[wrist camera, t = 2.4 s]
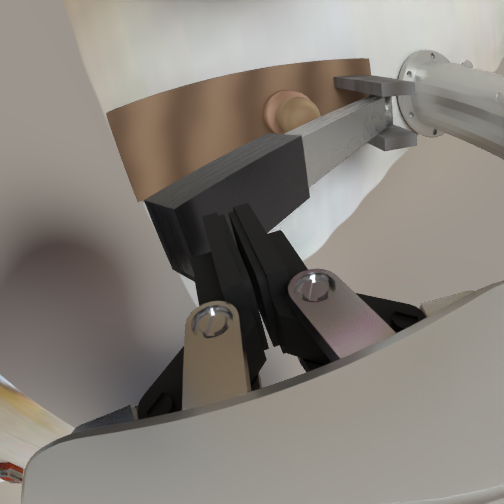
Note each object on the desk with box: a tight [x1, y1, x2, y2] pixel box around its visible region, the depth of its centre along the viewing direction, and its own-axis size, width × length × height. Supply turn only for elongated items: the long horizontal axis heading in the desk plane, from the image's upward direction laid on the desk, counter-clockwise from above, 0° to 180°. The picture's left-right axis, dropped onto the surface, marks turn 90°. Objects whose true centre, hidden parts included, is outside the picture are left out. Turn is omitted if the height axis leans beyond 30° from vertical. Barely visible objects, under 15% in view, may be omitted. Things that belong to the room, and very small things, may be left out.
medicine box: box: [0, 462, 23, 483], centre depth 67 cm, size 15×8×8 cm, turn 119°
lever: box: [144, 94, 393, 282], centre depth 18 cm, size 25×4×2 cm
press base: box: [106, 58, 417, 202], centre depth 25 cm, size 28×10×10 cm, turn 102°
